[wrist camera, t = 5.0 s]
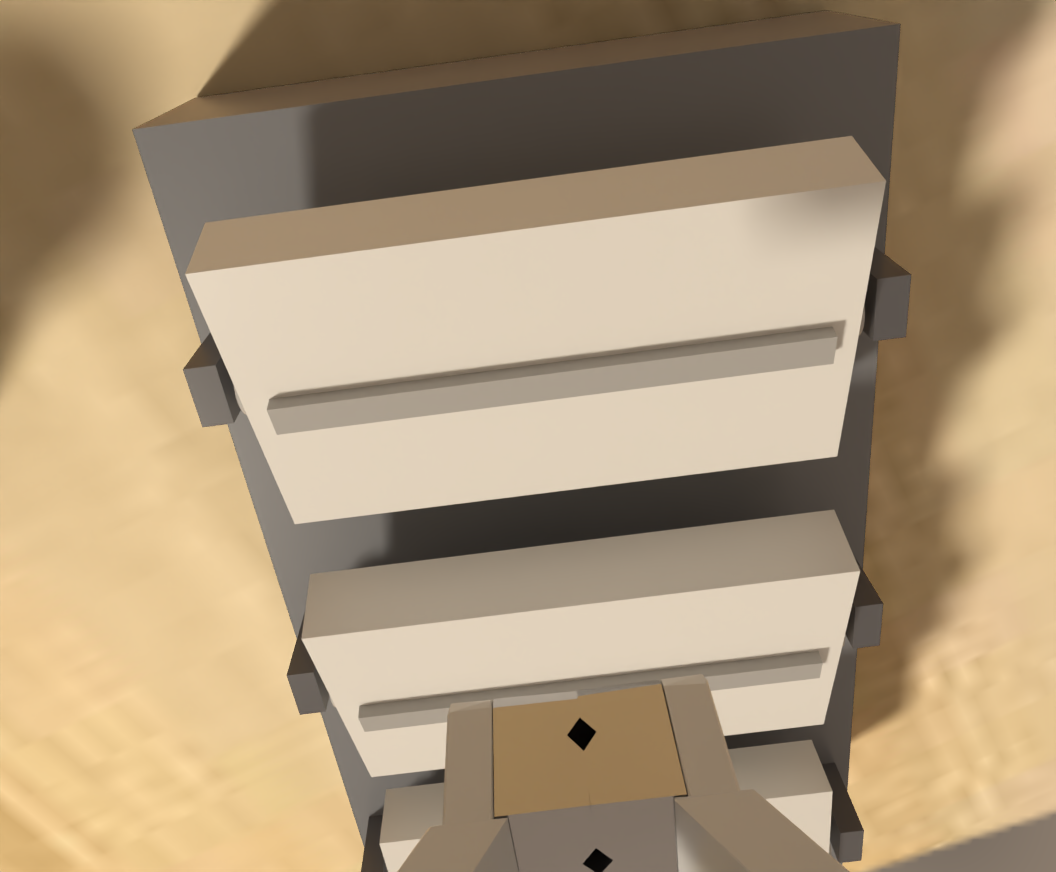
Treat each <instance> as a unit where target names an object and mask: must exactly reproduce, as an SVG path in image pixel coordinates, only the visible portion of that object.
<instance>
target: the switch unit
mask: <svg viewBox="0 0 1056 872" xmlns="http://www.w3.org/2000/svg"><path fill="white" fill-rule="evenodd" d="M899 39H900V24H899V23H893V22H888V21H882V20H877V19H871V18H866V17H860V16H855V15H849V14H844V13H838V12H833V11H827V10H826V11H819V12H812V13H804V14H797V15H790V16H783V17H775V18H768V19H761V20H754V21H746V22H739V23H732V24H725V25H718V26H710V27H703V28H696V29H689V30H681V31H674V32H667V33H660V34H652V35H645V36H638V37H631V38H623V39H616V40H609V41H602V42H595V43H587V44H580V45H573V46H566V47H558V48H551V49H544V50H537V51H529V52H522V53H515V54H508V55H500V56H493V57H486V58H479V59H472V60H464V61H457V62H450V63H443V64H435V65H428V66H421V67H414V68H406V69H399V70H392V71H385V72H378V73H370V74H363V75H356V76H349V77H341V78H334V79H327V80H320V81H312V82H305V83H298V84H291V85H283V86H276V87H269V88H262V89H255V90H247V91H240V92H233V93H226V94H218V95H211V96H204V97H197V98H194V99H192V100H190V101H188V102H186V103H184V104H182V105H180V106H178V107H176V108H174V109H172V110H170V111H168V112H166V113H164V114H162V115H160V116H158V117H156V118H154V119H152V120H150V121H148V122H146V123H144V124H142V125H140V126H138V127H136V128H134V129H132V131H133V134H134V137H135V140H136V143H137V146H138V149H139V152H140V155H141V158H142V161H143V165H144V168H145V171H146V174H147V177H148V180H149V183H150V186H151V189H152V192H153V195H154V199H155V202H156V205H157V208H158V211H159V214H160V217H161V220H162V223H163V226H164V229H165V233H166V236H167V239H168V242H169V245H170V248H171V251H172V254H173V257H174V260H175V263H176V267H177V270H178V273H179V276H180V279H181V282H182V285H183V288H184V291H185V294H186V297H187V301H188V304H189V307H190V310H191V313H192V316H193V319H194V322H195V325H196V328H197V331H198V335H199V338H200V341H201V346H200V347H199V348H198V350H197V351H196V352H195V354H194V355H193V356H192V358H191V359H190V361H189V362H188V363H187V365H186V366H185V367H184V369H183V371H184V374H185V377H186V380H187V383H188V386H189V389H190V392H191V395H192V398H193V401H194V404H195V407H196V409H197V412H198V415H199V418H200V421H201V424H202V427H208V426H216V425H224V424H228V427H229V430H230V433H231V437H232V440H233V443H234V446H235V449H236V452H237V455H238V458H239V461H240V464H241V467H242V471H243V474H244V477H245V480H246V483H247V486H248V489H249V492H250V495H251V498H252V501H253V505H254V508H255V511H256V514H257V517H258V520H259V523H260V526H261V529H262V532H263V535H264V539H265V542H266V545H267V548H268V551H269V554H270V557H271V560H272V563H273V566H274V569H275V573H276V576H277V579H278V582H279V585H280V588H281V591H282V594H283V597H284V600H285V603H286V607H287V610H288V613H289V616H290V619H291V622H292V625H293V628H294V631H295V634H296V637H297V641H296V645H295V648H294V652H293V655H292V659H291V662H290V666H289V669H288V673H287V678H288V681H289V684H290V686H291V689H292V692H293V695H294V698H295V701H296V704H297V707H298V710H299V713H300V715H301V714H309V713H317V712H321V715H322V718H323V721H324V724H325V727H326V730H327V733H328V736H329V739H330V743H331V746H332V749H333V752H334V755H335V758H336V761H337V764H338V767H339V770H340V773H341V777H342V780H343V783H344V786H345V789H346V792H347V795H348V798H349V801H350V804H351V808H352V811H353V814H354V817H355V820H356V823H357V826H358V829H359V832H360V835H361V838H362V842H363V845H364V855H363V862H362V869H361V872H388V870H387V867H386V863H385V860H384V857H383V854H382V851H381V847H380V844H379V842H380V834H381V826H382V818H383V810H384V802H385V794H386V789H393V788H402V787H410V786H419V785H427V784H436V783H444V778H445V769H437V770H429V771H420V772H412V773H403V774H395V775H386V776H377V777H371V776H370V774H369V772H368V770H367V768H366V766H365V764H364V762H363V760H362V758H361V756H360V754H359V752H358V750H357V748H356V746H355V744H354V742H353V740H352V738H351V736H350V734H349V732H348V730H347V728H346V726H345V724H344V722H343V720H342V718H341V716H340V714H339V712H338V710H337V708H336V707H334V706H333V704H332V702H331V699H330V695H329V693H328V691H327V689H326V687H325V685H324V683H323V681H322V679H321V677H320V675H319V673H318V671H317V669H316V667H315V665H314V663H313V661H312V659H311V657H310V655H309V653H308V651H307V649H306V647H305V645H304V643H303V641H302V639H301V638H302V631H303V623H304V616H305V609H306V601H307V594H308V587H309V579H310V574H316V573H324V572H332V571H340V570H349V569H357V568H365V567H373V566H381V565H389V564H397V563H405V562H413V561H421V560H430V559H438V558H446V557H454V556H462V555H470V554H478V553H486V552H494V551H502V550H510V549H519V548H527V547H535V546H543V545H551V544H559V543H567V542H575V541H583V540H591V539H600V538H608V537H616V536H624V535H632V534H640V533H648V532H656V531H664V530H672V529H681V528H689V527H697V526H705V525H713V524H721V523H729V522H737V521H745V520H753V519H761V518H770V517H778V516H786V515H794V514H802V513H810V512H818V511H826V510H835V513H836V515H837V517H838V520H839V522H840V524H841V527H842V529H843V531H844V534H845V536H846V539H847V541H848V543H849V546H850V548H851V550H852V553H853V555H854V557H855V560H856V562H857V565H858V567H859V569H860V574H859V578H858V582H857V587H856V591H855V595H854V599H853V603H852V608H851V612H850V616H849V620H848V624H847V629H846V633H845V644H844V646H842V649H841V654H840V658H839V662H838V666H837V670H836V675H835V679H834V683H833V687H832V691H831V695H830V700H829V704H828V708H827V712H826V716H825V721H824V724H821V725H813V726H804V727H795V728H787V729H778V730H770V731H761V732H753V733H744V734H736V735H727V736H724V737H725V741H726V744H727V747H728V749H736V748H744V747H753V746H761V745H770V744H778V743H787V742H795V741H804V740H812V742H813V744H814V747H815V749H816V752H817V754H818V757H819V759H820V762H821V764H822V767H823V769H824V771H825V774H826V776H827V779H828V781H829V784H830V786H831V789H832V791H833V793H832V810H831V827H830V846H831V853H832V857H833V858H834V859H835V860H837V861H838V862H839V863H840V864H841V865H842V863H843V862H852V861H861V857H862V845H863V834H864V830H863V828H862V825H861V823H860V820H859V818H858V816H857V813H856V811H855V809H854V806H853V804H852V802H851V799H850V797H849V795H848V792H847V786H848V771H849V757H850V743H851V728H852V714H853V700H854V685H855V671H856V657H857V648H862V647H870V646H879V645H880V634H881V622H882V611H883V603H882V601H881V599H880V598H879V596H878V594H877V593H876V591H875V589H874V588H873V586H872V584H871V583H870V581H869V579H868V578H867V576H866V574H865V573H864V571H863V556H864V542H865V527H866V513H867V498H868V484H869V470H870V455H871V441H872V427H873V412H874V398H875V383H876V369H877V355H878V340H886V339H894V338H902V337H906V329H907V317H908V306H909V294H910V282H911V274H910V273H908V272H907V271H906V270H904V269H903V268H902V267H900V266H899V265H898V264H897V263H895V262H894V261H893V260H891V259H890V258H889V257H888V256H886V255H885V240H886V225H887V211H888V197H889V182H890V168H891V153H892V139H893V125H894V110H895V96H896V82H897V67H898V53H899ZM846 136H852V137H853V138H854V139H855V141H856V142H857V143H858V145H859V146H860V147H861V149H862V150H863V151H864V152H865V154H866V155H867V156H868V158H869V159H870V160H871V162H872V163H873V164H874V166H875V167H876V168H877V170H878V171H879V172H880V173H881V175H882V176H883V177H884V179H885V180H886V185H885V190H884V196H883V202H882V207H881V213H880V218H879V224H878V230H877V235H876V241H875V246H874V252H873V258H872V263H871V269H870V275H869V280H868V286H867V291H866V297H865V303H864V307H865V322H864V327H863V331H862V333H861V334H860V335H859V336H858V342H857V348H856V353H855V359H854V365H853V370H852V376H851V381H850V387H849V393H848V398H847V404H846V410H845V415H844V421H843V426H842V432H841V438H840V443H839V449H838V454H837V457H829V458H821V459H813V460H805V461H797V462H789V463H781V464H773V465H765V466H757V467H749V468H741V469H733V470H725V471H717V472H709V473H701V474H693V475H685V476H677V477H669V478H661V479H653V480H645V481H637V482H629V483H621V484H613V485H605V486H597V487H589V488H581V489H573V490H565V491H557V492H549V493H541V494H533V495H525V496H517V497H509V498H501V499H493V500H485V501H477V502H469V503H461V504H453V505H445V506H437V507H429V508H421V509H413V510H405V511H397V512H389V513H381V514H373V515H365V516H357V517H349V518H341V519H333V520H325V521H317V522H309V523H301V524H294V521H293V519H292V517H291V514H290V512H289V510H288V508H287V505H286V503H285V501H284V498H283V496H282V494H281V492H280V489H279V487H278V485H277V483H276V480H275V478H274V476H273V473H272V471H271V469H270V467H269V464H268V462H267V460H266V457H265V455H264V453H263V451H262V448H261V446H260V444H259V441H258V439H257V437H256V435H255V432H254V430H253V428H252V426H251V423H250V421H249V419H248V416H247V415H246V414H244V413H243V412H242V410H241V409H240V407H239V405H238V402H237V399H236V395H235V391H234V384H233V382H232V380H231V378H230V375H229V373H228V371H227V369H226V366H225V364H224V362H223V359H222V357H221V355H220V353H219V350H218V348H217V346H216V343H215V341H214V339H213V337H212V334H211V332H210V330H209V327H208V325H207V323H206V321H205V318H204V316H203V314H202V312H201V309H200V307H199V305H198V302H197V300H196V298H195V296H194V293H193V291H192V289H191V286H190V284H189V282H188V280H187V277H186V275H185V273H186V271H187V268H188V265H189V263H190V260H191V258H192V255H193V253H194V250H195V247H196V245H197V242H198V240H199V237H200V235H201V232H202V229H203V227H204V224H205V223H207V222H214V221H222V220H229V219H236V218H244V217H251V216H259V215H266V214H274V213H281V212H288V211H296V210H303V209H311V208H318V207H326V206H333V205H341V204H348V203H355V202H363V201H370V200H378V199H385V198H393V197H400V196H407V195H415V194H422V193H430V192H437V191H445V190H452V189H460V188H467V187H474V186H482V185H489V184H497V183H504V182H512V181H519V180H526V179H534V178H541V177H549V176H556V175H564V174H571V173H579V172H586V171H593V170H601V169H608V168H616V167H623V166H631V165H638V164H645V163H653V162H660V161H668V160H675V159H683V158H690V157H698V156H705V155H712V154H720V153H727V152H735V151H742V150H750V149H757V148H764V147H772V146H779V145H787V144H794V143H802V142H809V141H817V140H824V139H831V138H839V137H846Z"/></svg>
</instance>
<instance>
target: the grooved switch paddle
mask: <svg viewBox="0 0 1056 872" xmlns="http://www.w3.org/2000/svg"><path fill="white" fill-rule="evenodd" d="M728 751H729V754H730V758H731V761H732V764H733V768H734V771H735V774H736V778H737V781H738V784H739V788H740V790H750V789H754V790H755V791H756V792H757V793H759V794H760V795H761V796H762V797H763V798H764V799H766V800H767V801H768V802H769V803H770V804H771V805H773V806H774V807H775V808H776V809H777V810H778V811H780V812H781V813H782V814H783V815H784V816H785V817H787V818H788V819H789V820H790V821H791V822H792V823H794V824H795V825H796V826H797V827H798V828H799V829H801V830H802V831H803V832H804V833H805V834H806V835H807V836H809V837H810V838H811V839H812V840H813V841H814V842H816V843H817V844H818V845H819V846H820V847H821V848H823V849H824V850H825V851H826V852H827V853H828V854H830V855H831V856H832V853H831V846H830V827H831V810H832V793H833V791H832V789H831V786H830V784H829V781H828V779H827V776H826V774H825V771H824V769H823V767H822V764H821V762H820V759H819V757H818V754H817V752H816V749H815V747H814V744H813V742H812V740H804V741H795V742H787V743H778V744H770V745H761V746H753V747H744V748H736V749H728ZM443 799H444V783H436V784H427V785H419V786H410V787H402V788H393V789H386V794H385V802H384V810H383V818H382V826H381V834H380V842H379V844H380V847H381V851H382V854H383V857H384V860H385V863H386V867H387V870H388V872H397V871H398V870H399V869H400V867H401V866H402V864H403V863H404V862H405V860H406V859H407V857H408V856H409V855H410V853H411V852H412V850H413V849H414V848H415V846H416V845H417V843H418V842H419V841H420V839H421V838H422V836H423V835H424V834H425V832H426V831H427V830H428V828H429V827H431V826H438V825H442V821H443Z"/></svg>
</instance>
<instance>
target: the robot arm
mask: <svg viewBox="0 0 1056 872" xmlns="http://www.w3.org/2000/svg"><path fill="white" fill-rule="evenodd" d="M397 872H849V871H848V870H847V869H846V868H845V867H844V866H842V865H841V864H840V863H839V862H838V861H837V860H835V859H834V858H833V857H832V856H831V855H830V854H828V853H827V852H826V851H825V850H824V849H823V848H821V847H820V846H819V845H818V844H817V843H816V842H814V841H813V840H812V839H811V838H810V837H809V836H807V835H806V834H805V833H804V832H803V831H802V830H801V829H799V828H798V827H797V826H796V825H795V824H794V823H792V822H791V821H790V820H789V819H788V818H787V817H785V816H784V815H783V814H782V813H781V812H780V811H778V810H777V809H776V808H775V807H774V806H773V805H771V804H770V803H769V802H768V801H767V800H766V799H764V798H763V797H762V796H761V795H760V794H759V793H757V792H756V791H755V790H754V789H750V790H740V788H739V784H738V781H737V778H736V774H735V771H734V768H733V764H732V761H731V758H730V754H729V751H728V747H727V744H726V741H725V737H724V734H723V731H722V727H721V724H720V721H719V717H718V714H717V711H716V707H715V704H714V701H713V697H712V694H711V691H710V687H709V684H708V680H707V679H706V678H705V677H704V676H703V674H698V675H690V676H683V677H675V678H667V679H661V680H660V681H659V680H650V681H642V682H635V683H627V684H619V685H612V686H604V687H596V688H589V689H581V690H576V691H571V692H561V693H550V694H539V695H529V696H518V697H508V698H497V699H494V700H484V701H473V702H463V703H452V704H451V705H450V708H449V712H448V715H447V734H446V756H445V778H444V799H443V821H442V825H438V826H431V827H429V828H428V830H427V831H426V832H425V834H424V835H423V836H422V838H421V839H420V841H419V842H418V843H417V845H416V846H415V848H414V849H413V850H412V852H411V853H410V855H409V856H408V857H407V859H406V860H405V862H404V863H403V864H402V866H401V867H400V869H399V870H398V871H397Z"/></svg>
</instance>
